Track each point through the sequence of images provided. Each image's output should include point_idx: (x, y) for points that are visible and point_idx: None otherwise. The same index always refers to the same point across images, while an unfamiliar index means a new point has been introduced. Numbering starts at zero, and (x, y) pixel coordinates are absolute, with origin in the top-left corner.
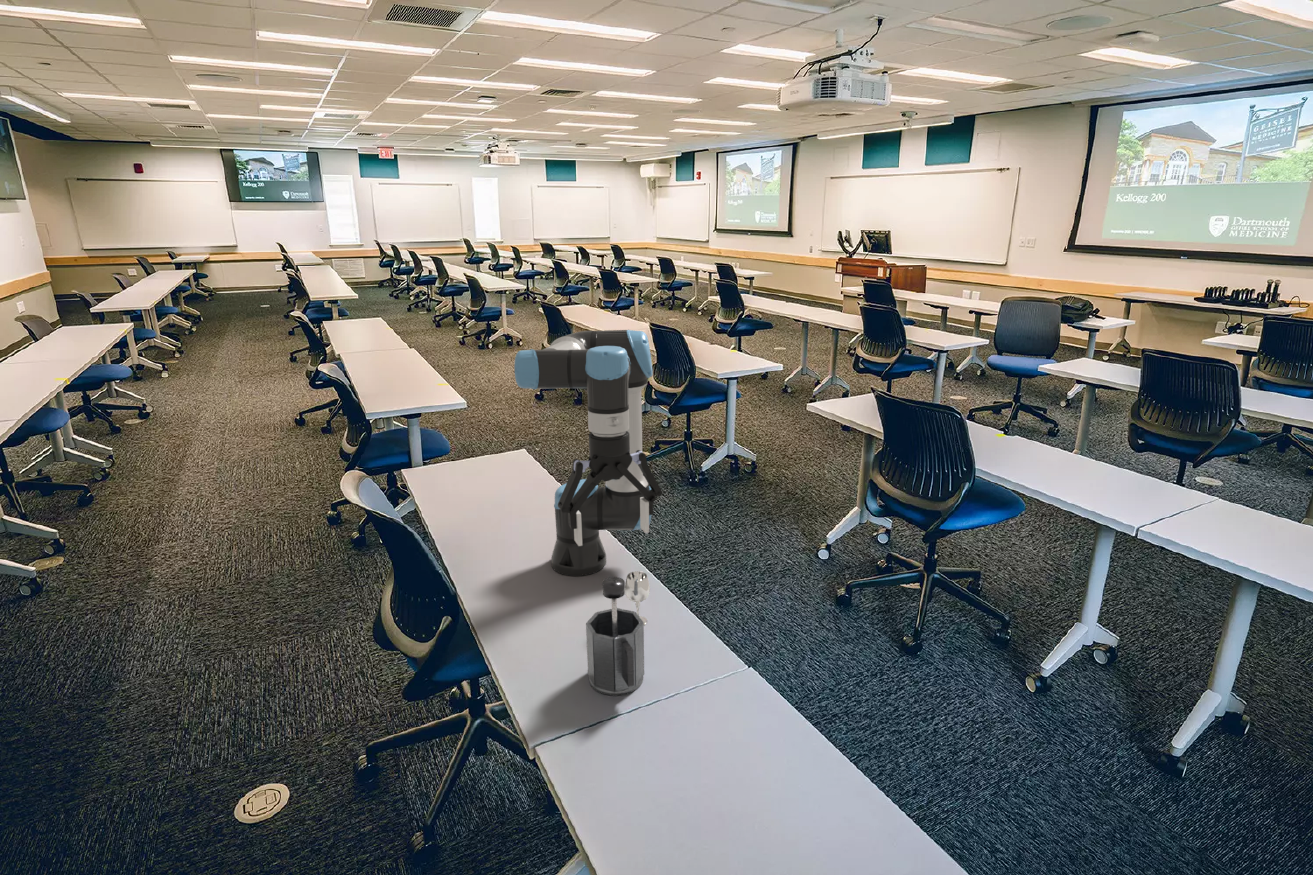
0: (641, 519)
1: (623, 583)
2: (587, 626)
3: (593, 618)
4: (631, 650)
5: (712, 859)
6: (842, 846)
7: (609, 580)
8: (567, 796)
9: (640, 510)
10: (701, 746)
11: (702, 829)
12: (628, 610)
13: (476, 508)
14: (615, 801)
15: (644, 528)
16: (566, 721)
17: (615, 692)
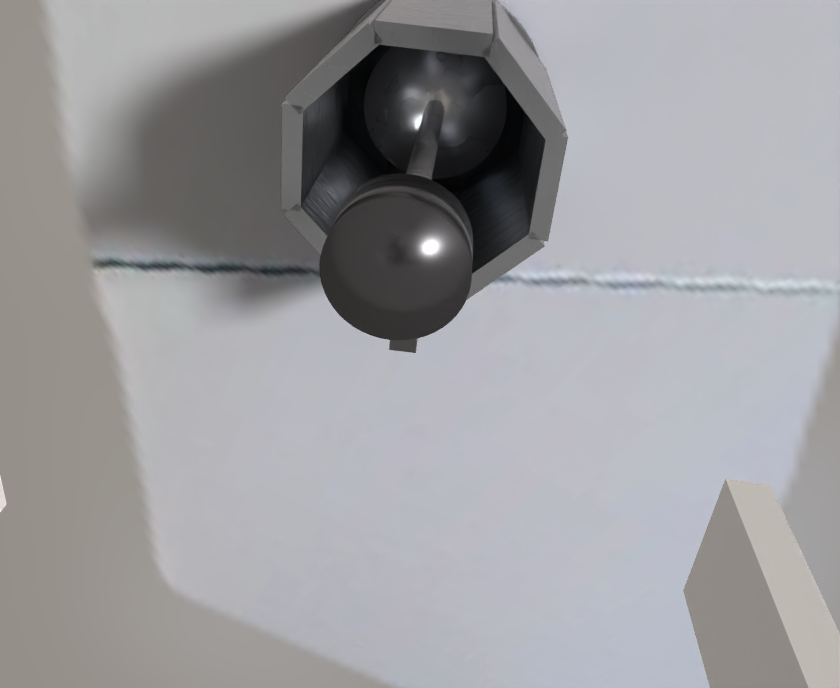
0: (748, 601)
1: (446, 317)
2: (282, 130)
3: (337, 74)
4: (407, 351)
5: (356, 662)
6: None
7: (381, 238)
8: (141, 443)
9: (798, 680)
10: (504, 474)
11: (373, 619)
12: (542, 100)
13: None
14: (239, 501)
15: (702, 601)
16: (200, 217)
17: None
